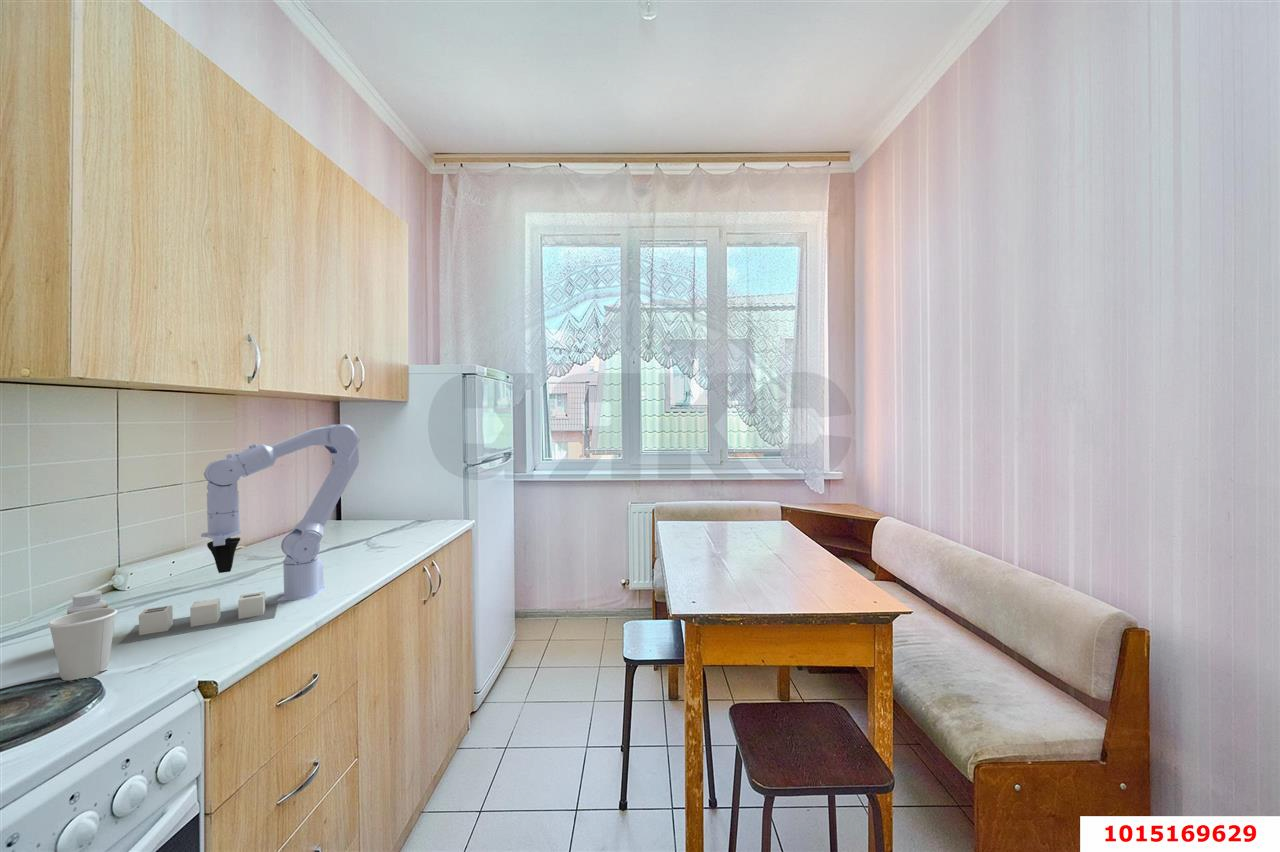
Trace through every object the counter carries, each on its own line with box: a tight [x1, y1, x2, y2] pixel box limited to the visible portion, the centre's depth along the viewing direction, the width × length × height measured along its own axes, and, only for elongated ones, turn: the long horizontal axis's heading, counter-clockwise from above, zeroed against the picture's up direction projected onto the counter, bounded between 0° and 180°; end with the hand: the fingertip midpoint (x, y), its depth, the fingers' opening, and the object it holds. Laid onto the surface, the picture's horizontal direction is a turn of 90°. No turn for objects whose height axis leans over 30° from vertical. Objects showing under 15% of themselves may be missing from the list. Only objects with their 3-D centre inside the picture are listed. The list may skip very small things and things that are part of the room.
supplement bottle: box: [66, 590, 109, 615], centre depth 105 cm, size 6×6×10 cm
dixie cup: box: [47, 607, 118, 681], centre depth 92 cm, size 8×8×10 cm
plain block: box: [189, 598, 221, 627], centre depth 115 cm, size 4×4×4 cm
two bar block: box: [138, 604, 174, 635], centre depth 111 cm, size 4×4×4 cm
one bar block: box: [237, 591, 266, 619], centre depth 119 cm, size 4×4×4 cm
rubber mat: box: [117, 602, 279, 645], centre depth 115 cm, size 25×12×1 cm, turn 121°
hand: (224, 571), depth 122 cm, fingers closed
